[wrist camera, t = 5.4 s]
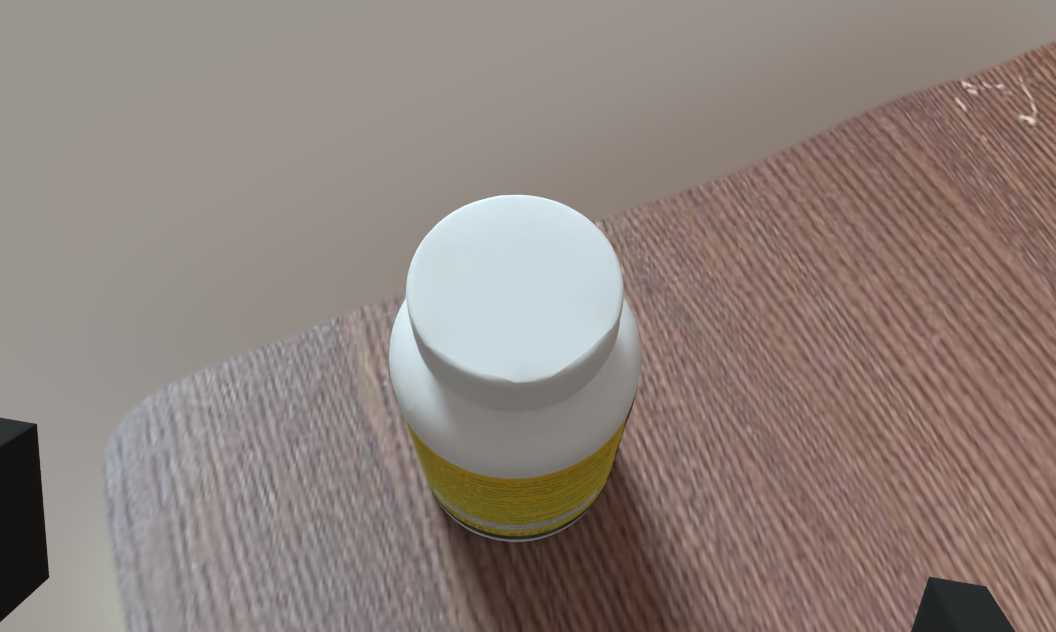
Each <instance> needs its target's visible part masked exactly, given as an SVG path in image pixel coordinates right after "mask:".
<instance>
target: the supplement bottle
mask: <svg viewBox="0 0 1056 632" xmlns="http://www.w3.org/2000/svg"><path fill="white" fill-rule="evenodd" d="M389 365H390V374H391V380H392V384H393V389H394V392H395V395H396V398H397V401H398V404H399V406H400V409H401V412H402V414H403V417H404V420H405V422H406V425H407V428H408V431H409V434H410V437H411V440H412V442H413V445H414V448H415V451H416V454H417V456H418V459H419V462H420V465H421V468H422V471H423V473H424V476H425V478H426V481H427V484H428V486H429V488H430V490H431V492H432V493H433V495H434V497H435V498H436V500H437V501H438V503H439V504H440V506H441V507H442V508H443V509H444V510H445V511H446V513H447V514H449V515H450V516H451V517H452V518H453V519H454V520H455V521H456V522H458V523H459V524H460V525H462V526H463V527H465V528H467V529H468V530H470V531H472V532H474V533H476V534H478V535H481V536H484V537H487V538H490V539H494V540H499V541H505V542H526V541H533V540H538V539H542V538H546V537H548V536H551V535H553V534H556V533H558V532H560V531H562V530H564V529H565V528H567V527H569V526H570V525H572V524H573V523H575V522H576V521H577V520H578V519H580V518H581V517H582V516H583V515H584V514H585V513H586V512H587V511H588V510H589V509H590V508H591V506H592V505H593V504H594V503H595V501H596V500H597V498H598V497H599V495H600V494H601V492H602V490H603V488H604V486H605V484H606V482H607V479H608V477H609V474H610V471H611V468H612V466H613V463H614V459H615V456H616V454H617V450H618V447H619V444H620V441H621V438H622V435H623V432H624V429H625V426H626V423H627V420H628V417H629V414H630V412H631V410H632V406H633V403H634V399H635V395H636V391H637V387H638V381H639V376H640V370H641V347H640V338H639V333H638V329H637V325H636V322H635V319H634V316H633V314H632V311H631V309H630V307H629V305H628V303H627V301H626V300H625V298H624V283H623V275H622V271H621V267H620V264H619V261H618V259H617V256H616V254H615V252H614V250H613V248H612V246H611V245H610V243H609V241H608V240H607V238H606V237H605V236H604V235H603V233H602V232H601V231H600V230H599V229H598V228H597V227H596V226H595V225H594V224H593V223H592V222H591V221H589V220H588V219H587V218H585V217H584V216H583V215H581V214H580V213H578V212H576V211H575V210H573V209H571V208H569V207H568V206H566V205H563V204H561V203H558V202H556V201H553V200H549V199H545V198H541V197H535V196H528V195H504V196H496V197H491V198H487V199H484V200H480V201H476V202H473V203H471V204H468V205H465V206H463V207H462V208H460V209H458V210H456V211H454V212H453V213H451V214H450V215H448V216H447V217H445V218H444V219H443V220H442V221H440V222H439V223H438V224H437V225H436V226H435V227H434V228H433V229H432V230H431V231H430V232H429V233H428V235H427V236H426V237H425V238H424V240H423V241H422V242H421V244H420V246H419V247H418V249H417V251H416V253H415V255H414V257H413V260H412V262H411V265H410V269H409V272H408V278H407V285H406V299H405V300H404V302H403V304H402V306H401V308H400V310H399V313H398V315H397V318H396V320H395V323H394V326H393V330H392V334H391V339H390V351H389Z"/></svg>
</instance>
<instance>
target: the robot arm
mask: <svg viewBox="0 0 1056 632" xmlns="http://www.w3.org/2000/svg"><path fill="white" fill-rule="evenodd" d="M43 508H44V507H43V496H42V483H41V470H40V458H39V446H38V433H37V424H34V423H28V422H22V421H16V420H11V419H5V418H0V622H1V621H2V620H3V619H4V618H5V617H6V616H7V615H9V613H11V612H12V611H13V610H14V609H15V608H16V607H17V606H18V605H20V604H21V603H22V602H23V601H24V600H25V599H26V598H27V597H28V596H29V595H30V594H32V593H33V592H34V591H35V590H36V589H37V588H38V587H39V586H40V585H41V584H42V583H44V582H45V581H46V580H47V579H48V578H49V571H48V557H47V545H46V533H45V520H44V509H43ZM911 632H1015V630H1014V629H1013V627H1012V626H1011V624H1010V623H1009V621H1008V620H1007V618H1006V616H1005V615H1004V613H1003V612H1002V610H1001V609H1000V607H999V606H998V604H997V603H996V601H995V599H994V598H993V596H992V595H991V593H990V592H989V590H988V589H987V587H986V586H980V585H974V584H968V583H962V582H956V581H951V580H945V579H939V578H933V577H929V579H928V582H927V585H926V588H925V591H924V594H923V597H922V600H921V603H920V606H919V609H918V612H917V616H916V619H915V622H914V625H913V628H912V631H911Z"/></svg>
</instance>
